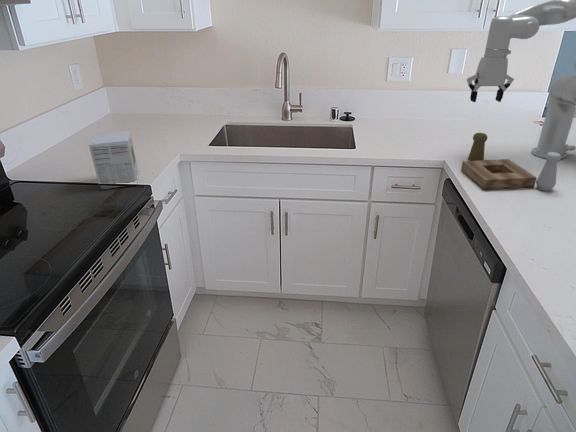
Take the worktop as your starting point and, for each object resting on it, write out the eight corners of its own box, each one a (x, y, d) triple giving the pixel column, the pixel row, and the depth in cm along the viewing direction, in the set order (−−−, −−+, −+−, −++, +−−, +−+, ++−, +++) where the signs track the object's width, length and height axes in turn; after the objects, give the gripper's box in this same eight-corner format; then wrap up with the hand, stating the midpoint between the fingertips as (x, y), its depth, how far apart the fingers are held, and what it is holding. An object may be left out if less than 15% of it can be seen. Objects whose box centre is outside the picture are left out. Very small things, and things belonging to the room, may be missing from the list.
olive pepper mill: (466, 161, 169) (471, 134, 164) (468, 156, 174) (473, 130, 168) (482, 163, 166) (488, 136, 161) (484, 158, 171) (489, 132, 166)
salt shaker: (547, 185, 147) (558, 150, 140) (557, 192, 142) (568, 155, 135) (531, 185, 147) (540, 150, 140) (540, 192, 142) (550, 156, 135)
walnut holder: (506, 168, 161) (508, 159, 159) (533, 188, 145) (536, 177, 143) (460, 171, 160) (462, 161, 158) (483, 190, 144) (485, 179, 142)
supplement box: (137, 186, 154) (128, 140, 146) (99, 191, 151) (87, 144, 143) (139, 173, 165) (130, 130, 157) (104, 177, 162) (93, 133, 154)
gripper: (514, 52, 155) (503, 98, 164) (468, 52, 155) (459, 99, 163) (524, 55, 149) (512, 103, 157) (476, 55, 149) (467, 103, 157)
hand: (485, 101), depth 160 cm, fingers open, 9 cm apart
